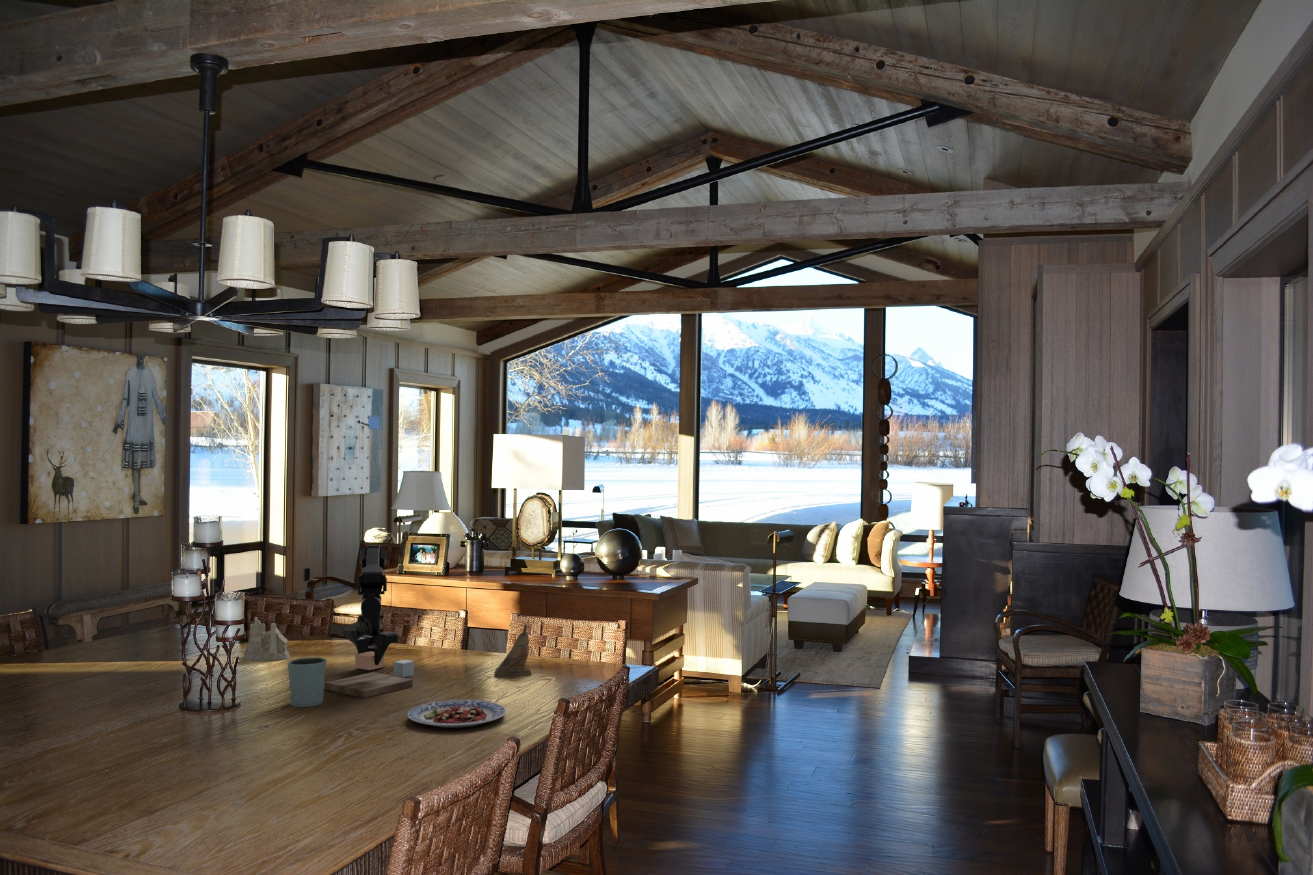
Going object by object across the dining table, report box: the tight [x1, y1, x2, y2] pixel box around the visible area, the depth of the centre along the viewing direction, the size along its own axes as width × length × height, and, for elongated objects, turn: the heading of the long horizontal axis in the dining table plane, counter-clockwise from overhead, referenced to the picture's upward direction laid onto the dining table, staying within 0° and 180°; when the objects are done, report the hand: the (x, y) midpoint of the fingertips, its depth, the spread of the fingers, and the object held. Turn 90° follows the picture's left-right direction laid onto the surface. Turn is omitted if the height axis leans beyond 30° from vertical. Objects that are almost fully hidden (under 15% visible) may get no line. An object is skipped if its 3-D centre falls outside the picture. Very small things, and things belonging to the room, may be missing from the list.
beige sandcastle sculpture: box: [243, 616, 291, 662], centre depth 326 cm, size 16×16×15 cm
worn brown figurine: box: [494, 623, 532, 678], centre depth 302 cm, size 12×6×18 cm, turn 106°
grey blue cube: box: [392, 659, 415, 678], centre depth 299 cm, size 4×4×4 cm
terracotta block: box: [354, 651, 386, 671], centre depth 282 cm, size 6×6×4 cm
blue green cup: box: [287, 656, 327, 708], centre depth 262 cm, size 10×10×12 cm
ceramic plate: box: [407, 699, 507, 729], centre depth 247 cm, size 26×26×3 cm
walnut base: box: [324, 671, 414, 699], centre depth 281 cm, size 18×18×2 cm
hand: (369, 663), depth 282 cm, fingers closed on terracotta block, 6 cm apart
